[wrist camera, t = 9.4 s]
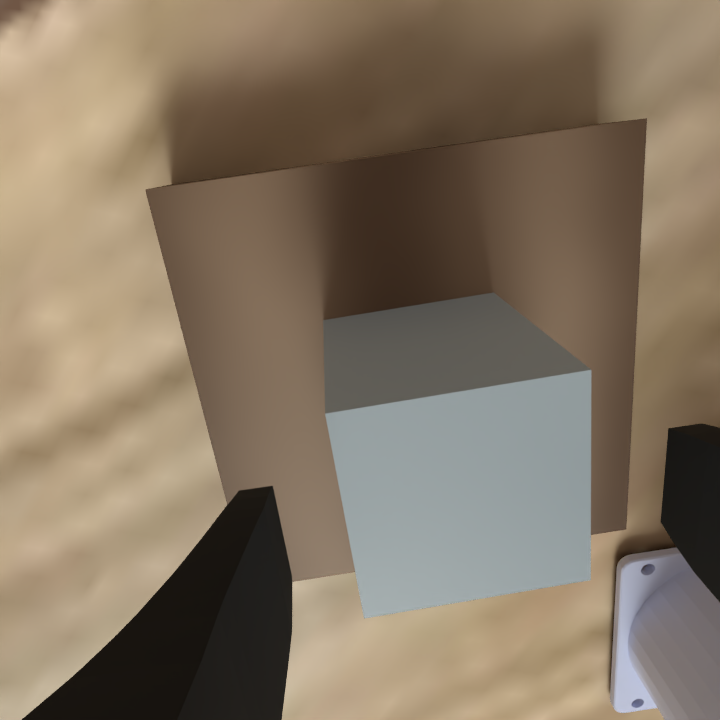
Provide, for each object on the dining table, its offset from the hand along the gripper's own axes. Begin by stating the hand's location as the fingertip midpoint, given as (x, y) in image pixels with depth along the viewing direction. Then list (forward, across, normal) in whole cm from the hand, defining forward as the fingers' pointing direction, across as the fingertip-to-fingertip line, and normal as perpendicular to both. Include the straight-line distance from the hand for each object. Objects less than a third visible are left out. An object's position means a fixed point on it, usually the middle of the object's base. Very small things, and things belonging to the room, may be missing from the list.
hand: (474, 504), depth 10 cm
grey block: (+6, 0, 0) cm, 6 cm away
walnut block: (+8, 0, 0) cm, 8 cm away
